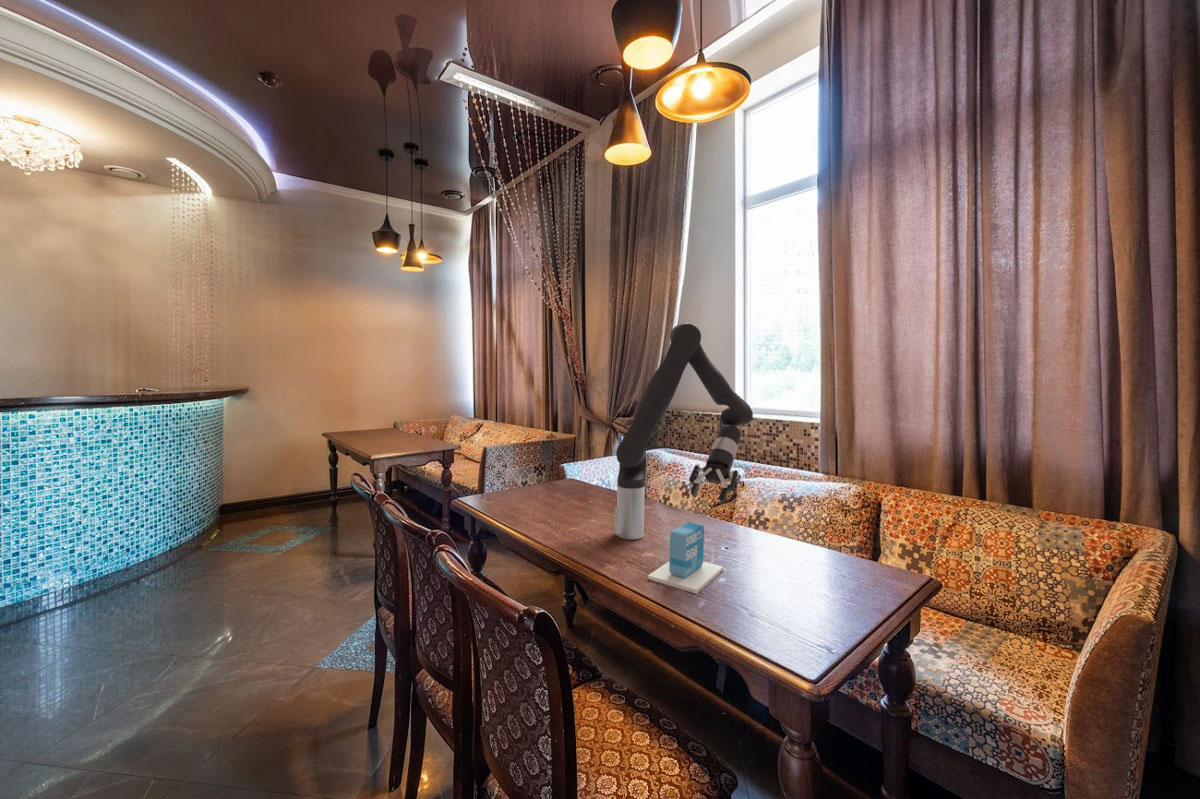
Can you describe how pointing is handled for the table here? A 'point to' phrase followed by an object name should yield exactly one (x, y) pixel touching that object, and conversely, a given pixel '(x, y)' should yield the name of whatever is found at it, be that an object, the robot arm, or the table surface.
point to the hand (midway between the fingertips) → (706, 498)
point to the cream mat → (690, 583)
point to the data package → (686, 549)
